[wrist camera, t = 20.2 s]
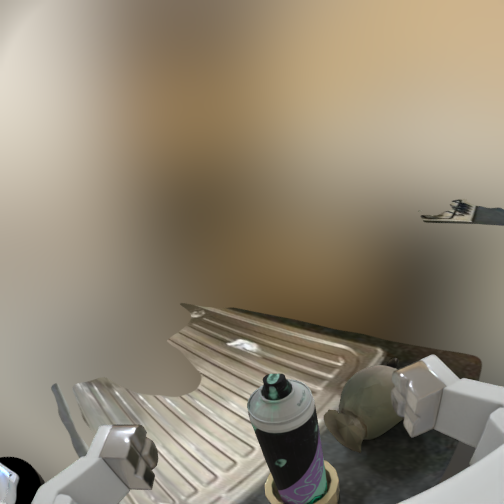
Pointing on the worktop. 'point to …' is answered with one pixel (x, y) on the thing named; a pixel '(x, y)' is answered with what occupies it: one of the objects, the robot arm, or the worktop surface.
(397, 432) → the worktop surface
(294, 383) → the spray can
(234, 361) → the worktop surface
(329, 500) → the beige base ring
